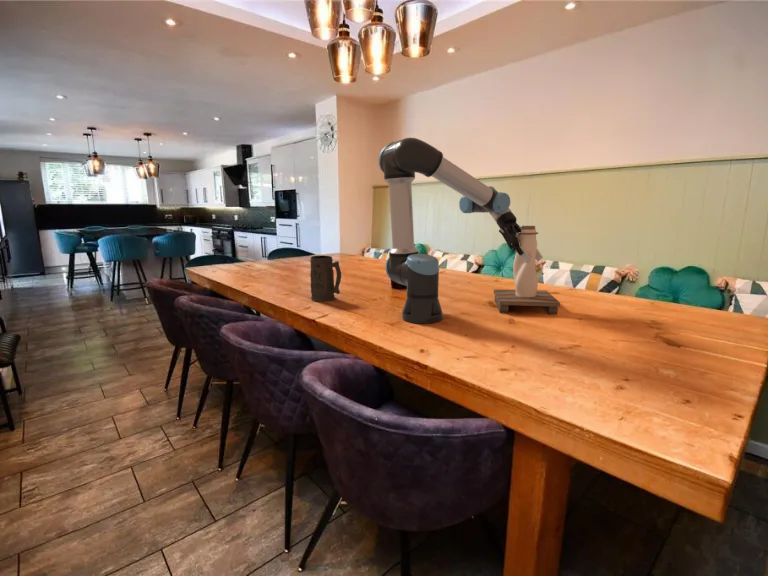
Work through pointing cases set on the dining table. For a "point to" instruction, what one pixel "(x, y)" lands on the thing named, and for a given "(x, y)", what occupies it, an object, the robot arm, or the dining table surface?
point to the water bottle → (526, 264)
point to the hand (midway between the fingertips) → (534, 260)
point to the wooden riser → (526, 300)
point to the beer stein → (324, 278)
